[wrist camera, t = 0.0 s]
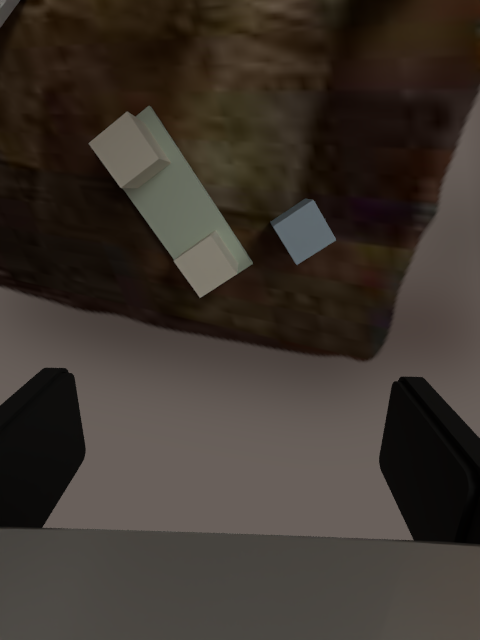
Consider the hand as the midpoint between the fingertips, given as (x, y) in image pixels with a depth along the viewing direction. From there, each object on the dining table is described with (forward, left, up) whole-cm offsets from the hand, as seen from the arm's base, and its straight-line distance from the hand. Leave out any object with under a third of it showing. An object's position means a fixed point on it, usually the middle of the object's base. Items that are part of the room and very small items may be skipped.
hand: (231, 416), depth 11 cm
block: (+2, +6, -37) cm, 38 cm away
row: (-8, -5, -37) cm, 38 cm away
